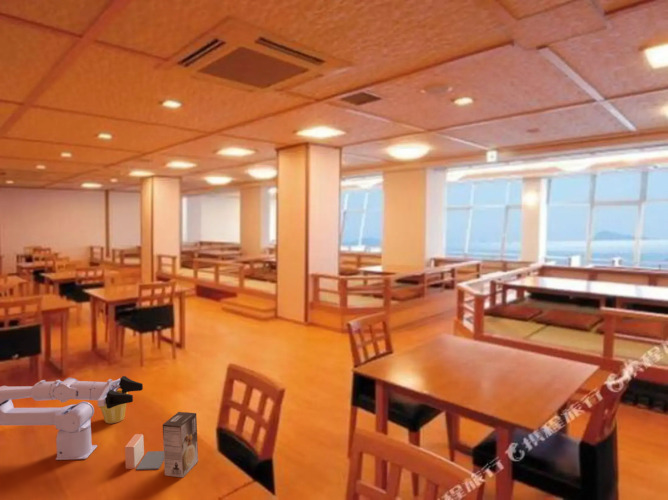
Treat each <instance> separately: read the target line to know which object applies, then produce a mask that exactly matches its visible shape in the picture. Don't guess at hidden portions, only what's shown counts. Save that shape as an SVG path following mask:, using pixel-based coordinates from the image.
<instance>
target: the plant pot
mask: <svg viewBox="0 0 668 500" xmlns="http://www.w3.org/2000/svg"><path fill="white" fill-rule="evenodd" d="M117 392H119V393H122V389H118V390H117ZM123 394H129V392H126V393H123ZM98 408H99V409H101V410H100V411H101V413H102V416H103V417H102V418H103V419H104V422H105V423H106V424H116V423H119V422H121V421H123V420H124V419H125V415H126V409H127V403H125V404H120V405H117V406H114V407H112V408H110V409H107V406H106V404H105V406H98Z"/></svg>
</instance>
